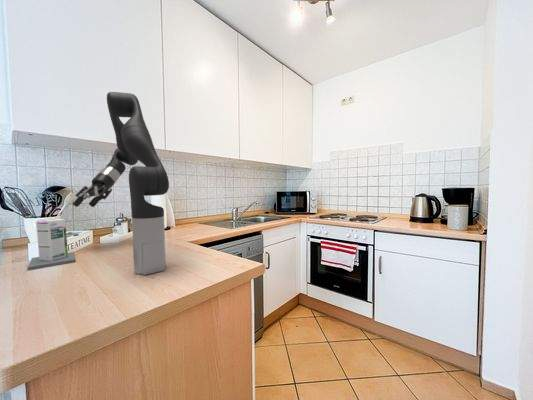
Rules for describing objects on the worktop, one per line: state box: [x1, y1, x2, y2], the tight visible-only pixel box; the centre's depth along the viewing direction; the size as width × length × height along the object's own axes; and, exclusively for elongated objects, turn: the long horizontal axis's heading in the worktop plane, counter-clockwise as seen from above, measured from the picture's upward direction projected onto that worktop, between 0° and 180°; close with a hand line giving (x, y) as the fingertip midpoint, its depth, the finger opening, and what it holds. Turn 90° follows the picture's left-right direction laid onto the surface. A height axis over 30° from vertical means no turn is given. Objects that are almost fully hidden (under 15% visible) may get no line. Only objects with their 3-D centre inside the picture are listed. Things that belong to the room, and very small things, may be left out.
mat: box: [27, 251, 76, 271], centre depth 84 cm, size 14×12×1 cm
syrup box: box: [35, 217, 68, 261], centre depth 84 cm, size 6×6×14 cm
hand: (82, 205), depth 94 cm, fingers open, 8 cm apart
